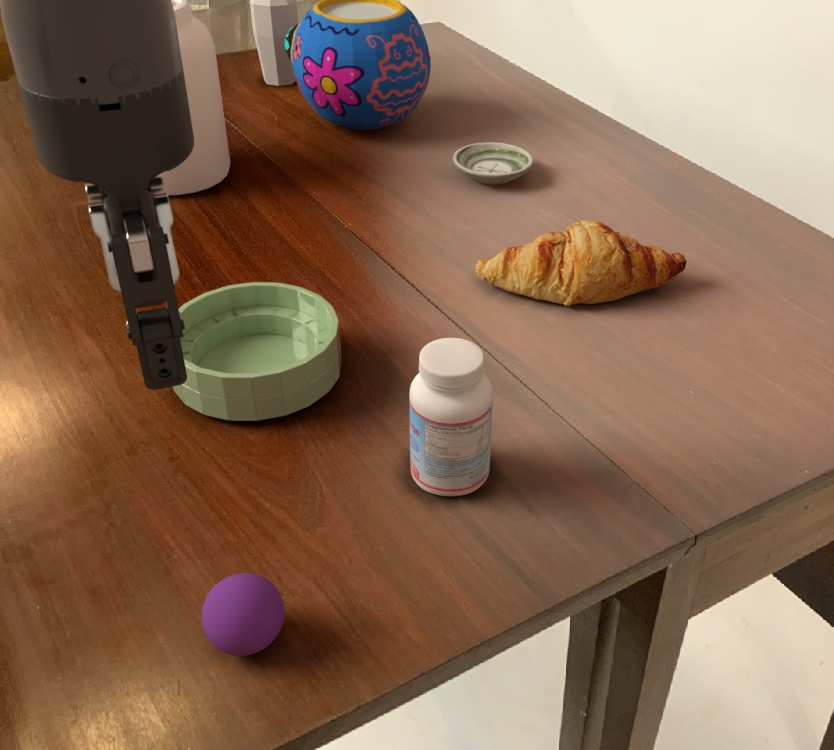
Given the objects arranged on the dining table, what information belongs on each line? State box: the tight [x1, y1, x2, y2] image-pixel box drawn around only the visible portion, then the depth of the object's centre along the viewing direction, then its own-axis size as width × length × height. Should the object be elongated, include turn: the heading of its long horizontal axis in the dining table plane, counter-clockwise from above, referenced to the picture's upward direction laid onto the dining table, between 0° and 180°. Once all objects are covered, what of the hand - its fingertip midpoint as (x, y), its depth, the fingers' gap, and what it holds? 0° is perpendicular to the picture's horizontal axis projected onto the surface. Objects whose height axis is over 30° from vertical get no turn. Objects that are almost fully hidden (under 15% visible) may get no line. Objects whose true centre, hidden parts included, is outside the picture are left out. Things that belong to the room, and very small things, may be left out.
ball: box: [201, 572, 286, 657], centre depth 60 cm, size 5×5×5 cm
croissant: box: [474, 219, 687, 307], centre depth 97 cm, size 21×10×8 cm, turn 96°
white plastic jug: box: [160, 0, 231, 196], centre depth 109 cm, size 12×12×20 cm
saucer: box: [452, 141, 534, 185], centre depth 117 cm, size 10×10×2 cm
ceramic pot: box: [285, 0, 432, 131], centre depth 125 cm, size 18×18×15 cm
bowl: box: [172, 281, 343, 422], centre depth 83 cm, size 14×14×5 cm
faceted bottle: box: [249, 0, 299, 87], centre depth 134 cm, size 6×6×22 cm
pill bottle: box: [408, 337, 494, 497], centre depth 72 cm, size 6×6×11 cm
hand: (157, 341), depth 56 cm, fingers open, 8 cm apart
